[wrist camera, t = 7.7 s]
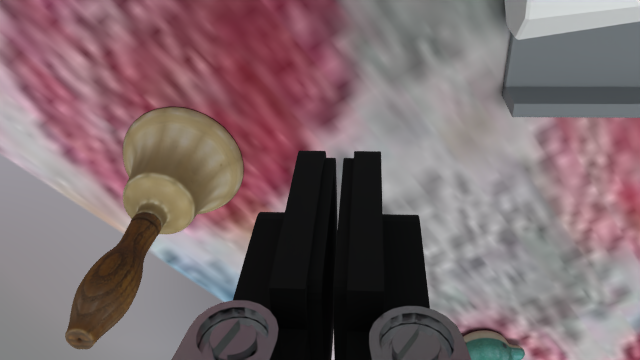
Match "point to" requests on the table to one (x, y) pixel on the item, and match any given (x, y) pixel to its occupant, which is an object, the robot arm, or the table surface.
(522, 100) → the tray
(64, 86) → the table surface
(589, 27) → the pepper shaker
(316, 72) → the table surface
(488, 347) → the whale figurine
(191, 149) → the hand bell
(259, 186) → the table surface
